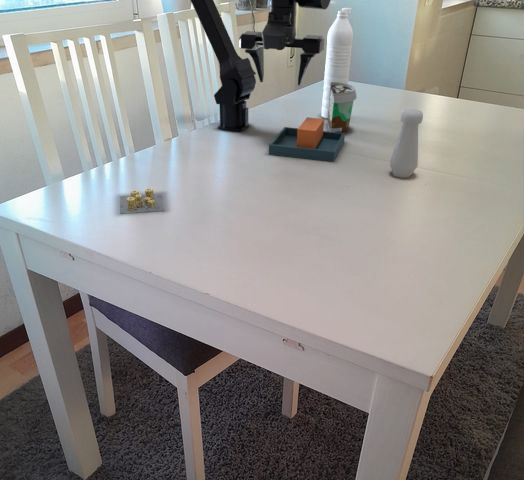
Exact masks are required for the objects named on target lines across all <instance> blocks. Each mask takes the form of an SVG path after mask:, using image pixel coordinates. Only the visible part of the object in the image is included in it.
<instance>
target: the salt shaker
mask: <svg viewBox="0 0 524 480" xmlns="http://www.w3.org/2000/svg"><path fill="white" fill-rule="evenodd" d="M423 119H424V113H423V112H422V110H420V109H417V108H406V109H404V110H403V111H402V112H401V114H400V122H401V123H402V125H401V127H400V131H399V134H398V136H397V140H396V142H395V146H394V148H393V151H392V153H391V154H392V155H391V157H390V161H389V166H390V169H391V174H392V175H393V177H397V178H402V179H403V178H405V179H406V178H411V176H412V175H413V174H414V172H415V171H416V169H418V167H419V166H418V165H419V125H420V124H422V122H423Z"/></svg>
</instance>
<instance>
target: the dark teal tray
mask: <svg viewBox="0 0 524 480" xmlns="http://www.w3.org/2000/svg"><path fill="white" fill-rule="evenodd" d="M298 128H299V127H287V126H284V127H283V128H282V129H281V130H280V131H279V132H278V134H277V135H276V136H275V137H274V138H273V139H272V140H271V142H270V143H269V144H268V155H269V156H271V155H272V156H279V157H280V156H281V157H290V158H298V159H307V160H314V161H323V162H333V163H334V162H335V160H336V158H337V156H338V154H339V152H340V151H341V149H342V148H343V145H344V144H345V139H346V133H338V132H329V130H327V131H326V130H323V140H322V142H321V143H320V145H319V146H318V148H317V149H311V148H302V147H297V130H298Z"/></svg>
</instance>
